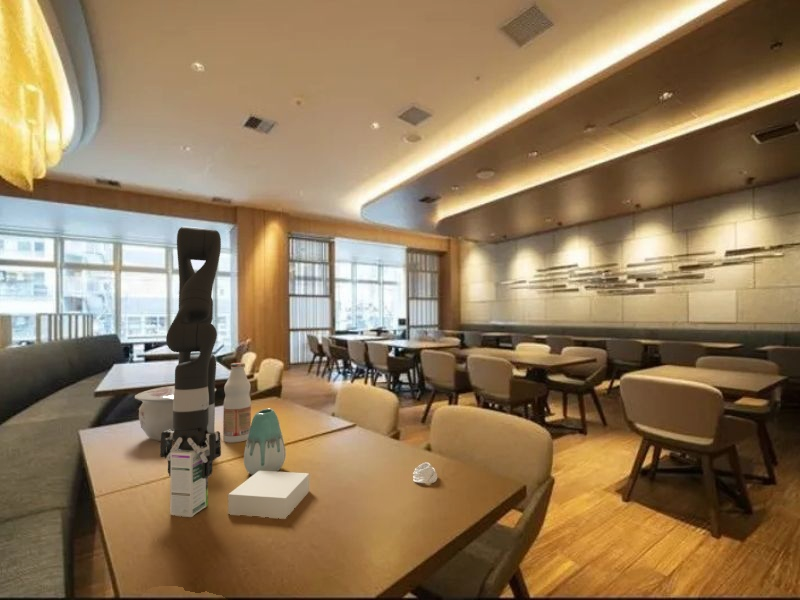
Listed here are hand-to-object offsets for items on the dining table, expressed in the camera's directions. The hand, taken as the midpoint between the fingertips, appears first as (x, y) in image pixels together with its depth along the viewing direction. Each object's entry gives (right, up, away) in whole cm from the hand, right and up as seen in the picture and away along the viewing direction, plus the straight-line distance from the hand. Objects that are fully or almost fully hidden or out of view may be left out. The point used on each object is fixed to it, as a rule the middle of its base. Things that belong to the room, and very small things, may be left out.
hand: (190, 476), depth 92 cm
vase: (+10, -9, +22) cm, 26 cm away
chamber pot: (-36, -11, +58) cm, 69 cm away
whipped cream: (+56, -9, +16) cm, 59 cm away
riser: (+18, -9, +4) cm, 20 cm away
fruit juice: (-11, -10, +53) cm, 56 cm away
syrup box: (0, -8, 0) cm, 8 cm away
